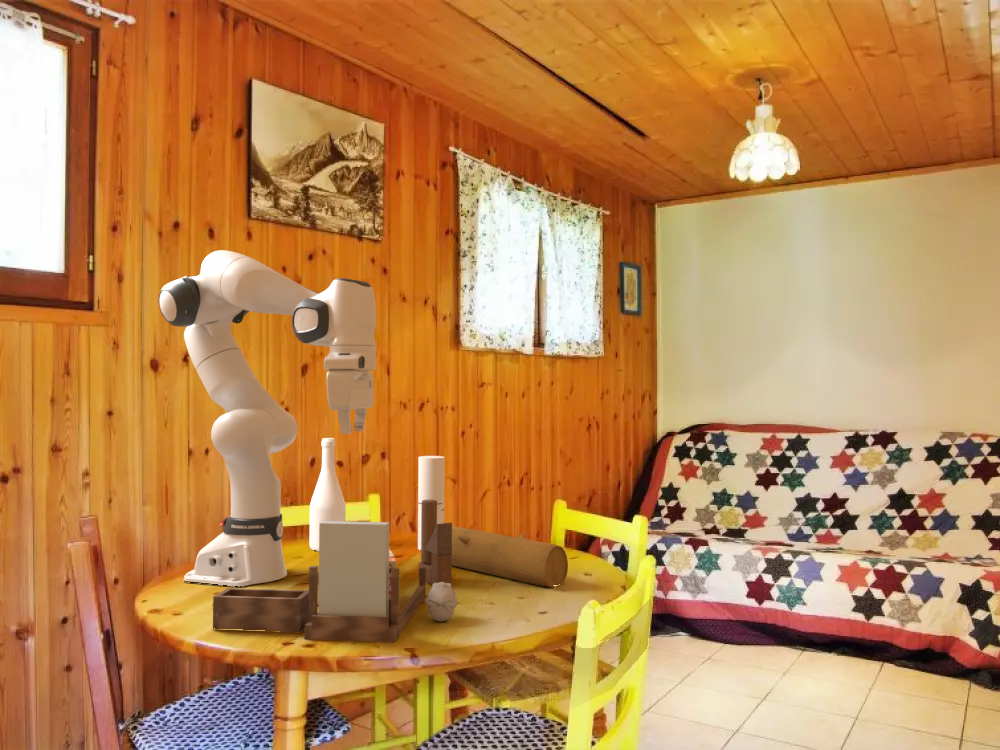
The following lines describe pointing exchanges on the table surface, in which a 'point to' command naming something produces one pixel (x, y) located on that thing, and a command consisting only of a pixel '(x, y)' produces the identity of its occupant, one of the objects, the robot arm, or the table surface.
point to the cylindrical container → (431, 486)
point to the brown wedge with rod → (435, 545)
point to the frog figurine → (441, 601)
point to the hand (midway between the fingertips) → (352, 432)
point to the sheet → (354, 568)
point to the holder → (261, 609)
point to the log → (509, 556)
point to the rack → (361, 625)
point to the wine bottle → (326, 495)
